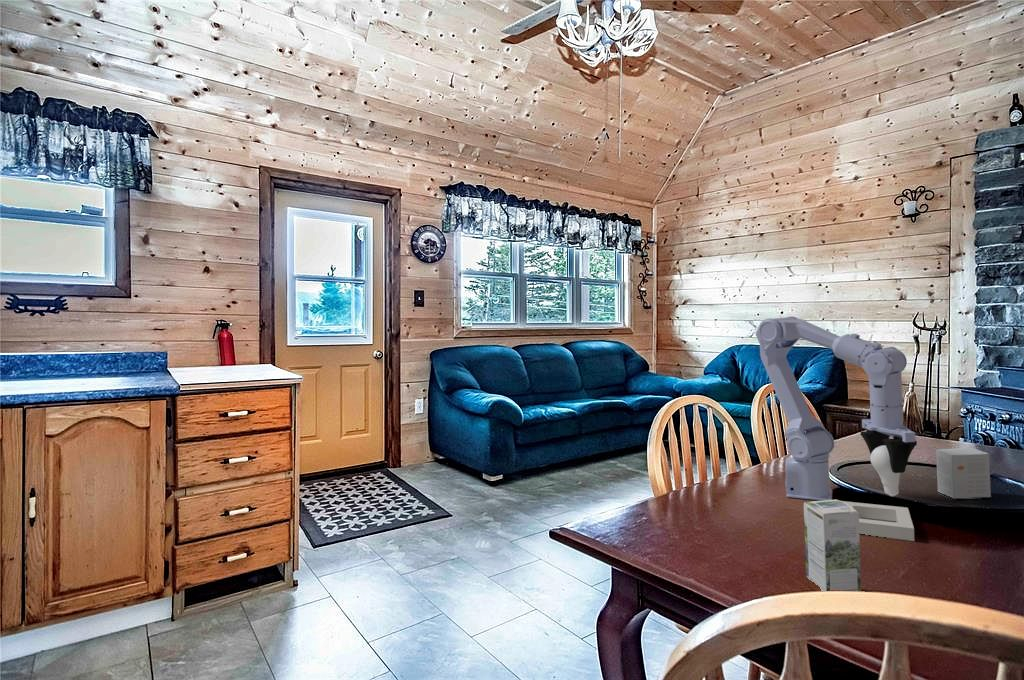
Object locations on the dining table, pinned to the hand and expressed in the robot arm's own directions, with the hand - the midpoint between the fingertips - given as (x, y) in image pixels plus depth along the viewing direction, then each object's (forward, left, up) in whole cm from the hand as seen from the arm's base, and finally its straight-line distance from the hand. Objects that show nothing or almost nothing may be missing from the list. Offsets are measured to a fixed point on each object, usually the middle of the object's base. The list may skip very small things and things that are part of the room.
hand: (888, 468), depth 118 cm
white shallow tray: (-3, -7, -10) cm, 13 cm away
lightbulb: (+1, 0, -6) cm, 6 cm away
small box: (+15, +19, -11) cm, 26 cm away
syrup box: (-10, -40, -11) cm, 43 cm away
